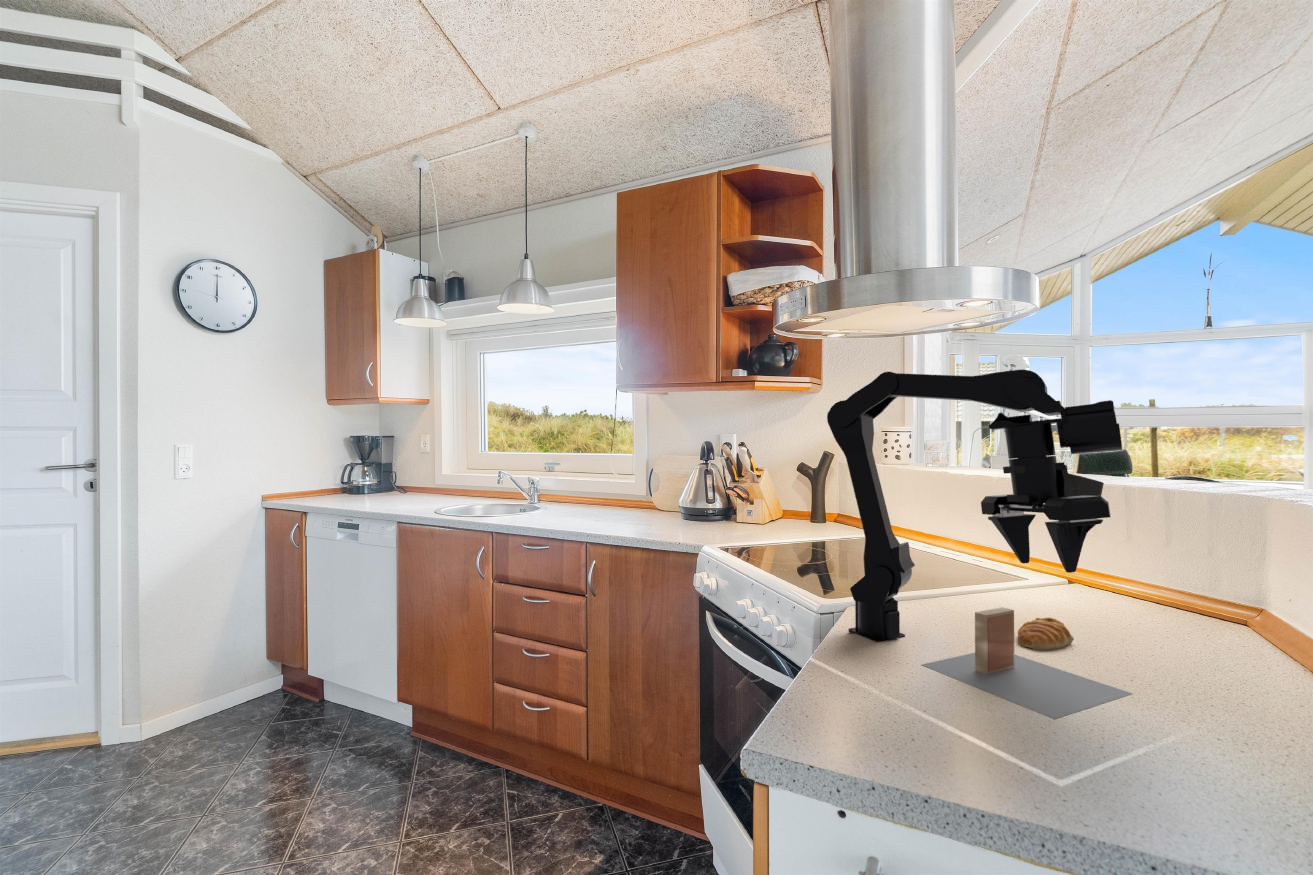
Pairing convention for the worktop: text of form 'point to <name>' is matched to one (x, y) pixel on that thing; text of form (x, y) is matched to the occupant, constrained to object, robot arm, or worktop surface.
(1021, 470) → the robot arm
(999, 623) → the tile
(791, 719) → the worktop surface
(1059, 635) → the pastry
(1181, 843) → the worktop surface
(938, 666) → the mat
